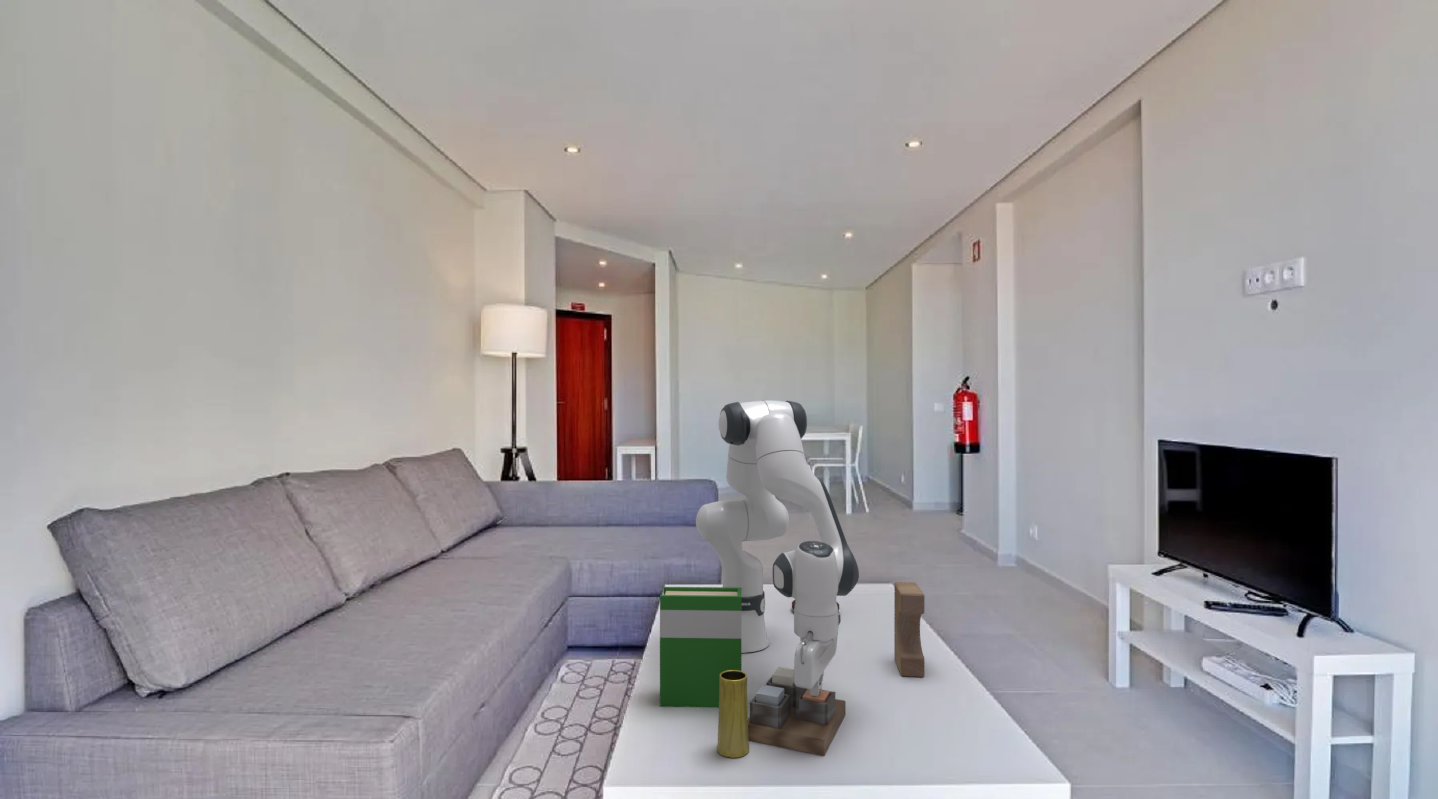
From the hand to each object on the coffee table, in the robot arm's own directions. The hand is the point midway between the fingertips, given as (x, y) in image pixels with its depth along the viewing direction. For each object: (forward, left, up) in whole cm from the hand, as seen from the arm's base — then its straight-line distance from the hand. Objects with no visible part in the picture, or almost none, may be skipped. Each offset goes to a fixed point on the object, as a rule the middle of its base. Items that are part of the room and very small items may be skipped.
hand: (815, 693), depth 138 cm
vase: (-12, -14, -8) cm, 20 cm away
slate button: (-8, -5, -2) cm, 10 cm away
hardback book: (-27, +4, -8) cm, 28 cm away
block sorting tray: (-4, 0, -8) cm, 8 cm away
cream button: (-8, +5, -2) cm, 10 cm away
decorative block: (+13, +40, -8) cm, 43 cm away
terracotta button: (0, 0, -3) cm, 3 cm away
